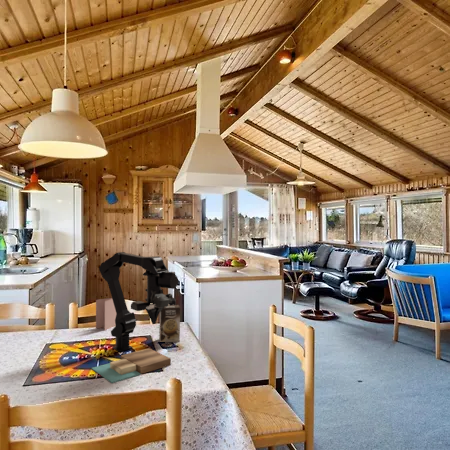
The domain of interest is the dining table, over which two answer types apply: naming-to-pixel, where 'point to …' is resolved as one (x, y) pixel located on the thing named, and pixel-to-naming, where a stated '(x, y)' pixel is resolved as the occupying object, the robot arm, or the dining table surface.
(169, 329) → the coffee box
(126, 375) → the teal mat
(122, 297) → the robot arm
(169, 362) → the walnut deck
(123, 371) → the birch tile
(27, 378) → the dining table surface
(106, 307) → the greeting card
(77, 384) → the dining table surface
